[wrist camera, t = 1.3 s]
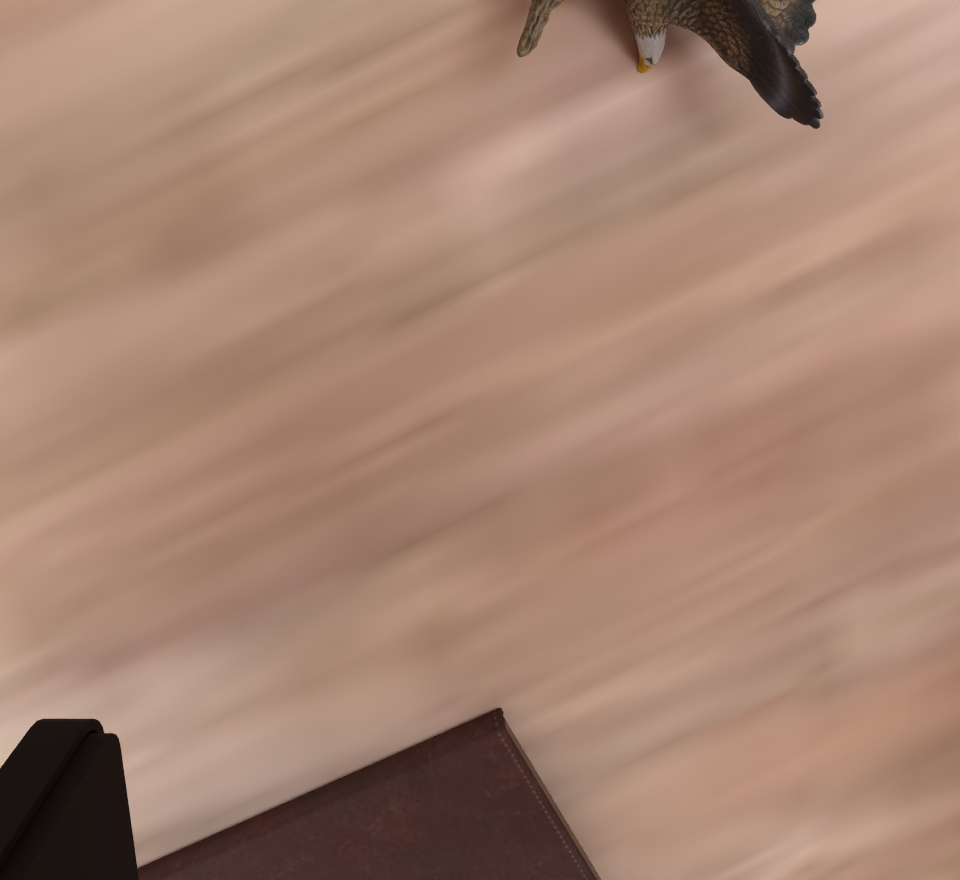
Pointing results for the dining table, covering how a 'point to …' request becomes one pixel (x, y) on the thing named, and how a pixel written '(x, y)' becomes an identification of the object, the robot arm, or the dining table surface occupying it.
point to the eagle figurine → (723, 42)
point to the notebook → (405, 822)
